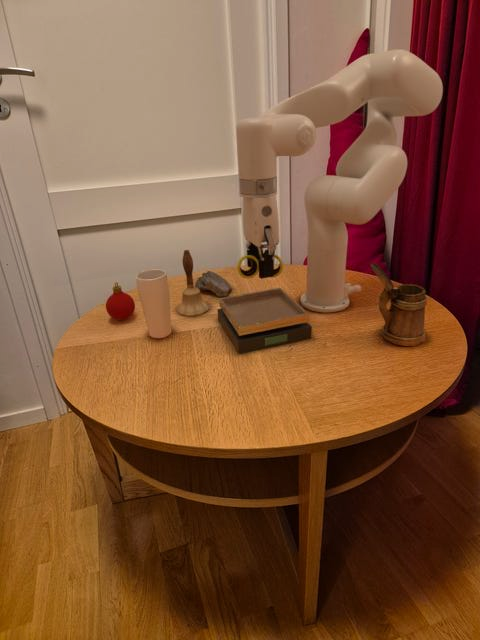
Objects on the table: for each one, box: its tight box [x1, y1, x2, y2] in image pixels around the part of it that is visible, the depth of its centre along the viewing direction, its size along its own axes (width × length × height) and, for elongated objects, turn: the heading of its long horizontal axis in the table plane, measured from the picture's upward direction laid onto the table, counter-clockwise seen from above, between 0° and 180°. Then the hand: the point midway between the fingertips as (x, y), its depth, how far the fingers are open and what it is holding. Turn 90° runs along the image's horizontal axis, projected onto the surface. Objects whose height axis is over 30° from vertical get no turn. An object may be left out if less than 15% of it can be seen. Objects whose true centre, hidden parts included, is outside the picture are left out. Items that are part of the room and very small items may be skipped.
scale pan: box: [218, 287, 310, 336], centre depth 94 cm, size 16×16×2 cm
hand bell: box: [177, 249, 210, 317], centre depth 103 cm, size 8×8×16 cm
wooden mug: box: [370, 262, 428, 347], centre depth 85 cm, size 9×14×18 cm, turn 99°
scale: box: [217, 308, 313, 355], centre depth 95 cm, size 17×17×4 cm
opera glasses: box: [236, 254, 284, 279], centre depth 88 cm, size 10×5×5 cm, turn 89°
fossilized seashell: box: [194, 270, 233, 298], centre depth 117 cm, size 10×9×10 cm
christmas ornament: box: [105, 281, 136, 321], centre depth 102 cm, size 7×7×10 cm
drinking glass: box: [135, 268, 173, 339], centre depth 93 cm, size 7×7×15 cm
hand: (260, 270), depth 89 cm, fingers closed on opera glasses, 6 cm apart
